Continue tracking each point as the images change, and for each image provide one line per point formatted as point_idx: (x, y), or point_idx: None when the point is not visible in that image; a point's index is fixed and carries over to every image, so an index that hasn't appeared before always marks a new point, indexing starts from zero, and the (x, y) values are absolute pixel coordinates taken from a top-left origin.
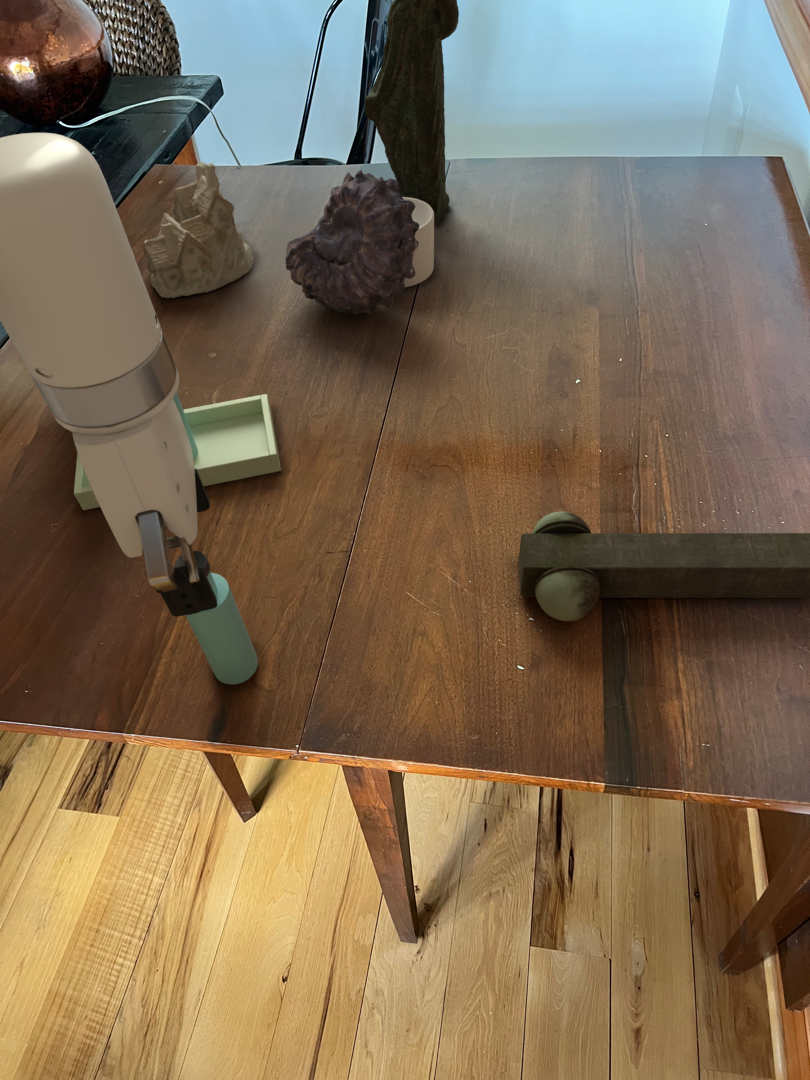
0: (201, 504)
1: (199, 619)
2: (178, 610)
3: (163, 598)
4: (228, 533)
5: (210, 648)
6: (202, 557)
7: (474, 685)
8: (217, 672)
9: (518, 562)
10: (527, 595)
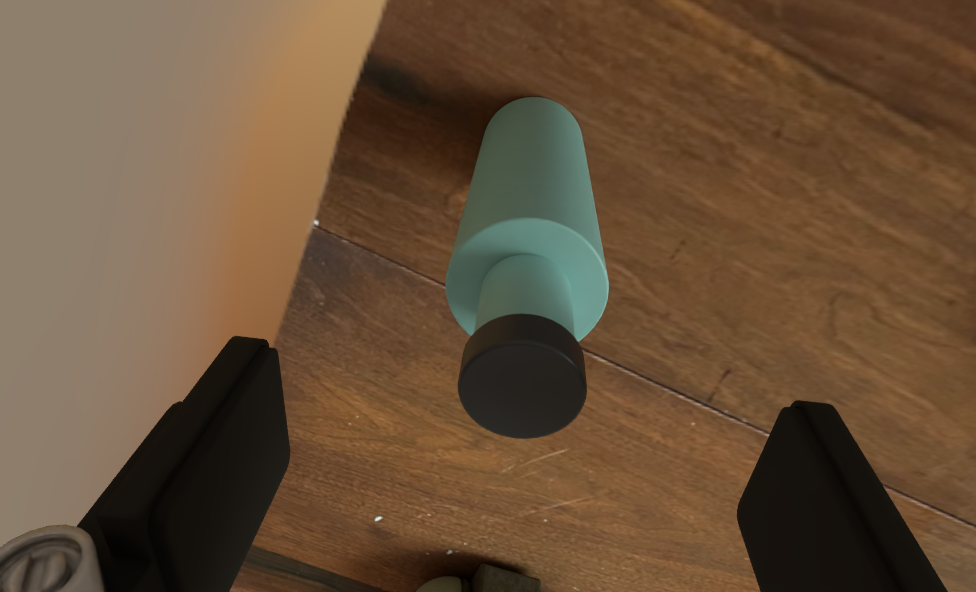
0: (751, 533)
1: (454, 246)
2: (164, 415)
3: (172, 417)
4: (933, 200)
5: (475, 175)
6: (532, 430)
7: (365, 469)
8: (495, 123)
9: (536, 585)
10: (478, 571)
